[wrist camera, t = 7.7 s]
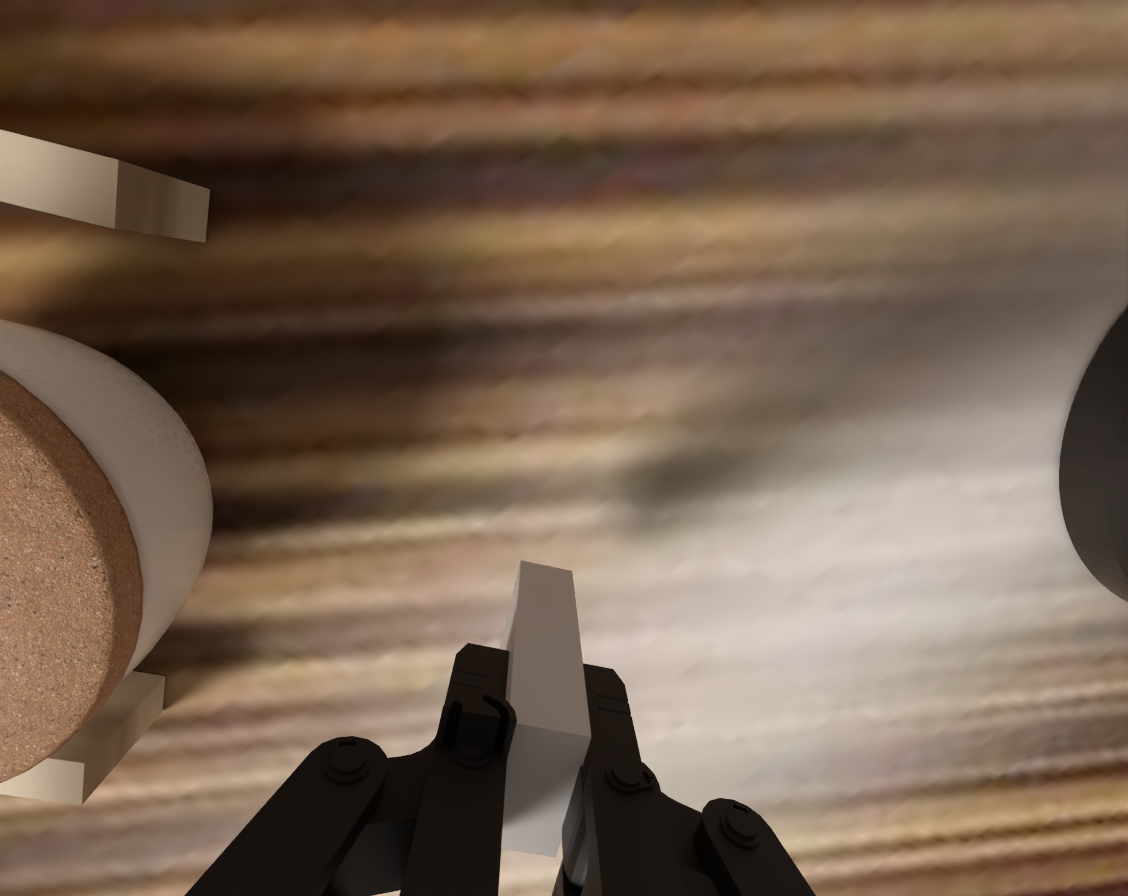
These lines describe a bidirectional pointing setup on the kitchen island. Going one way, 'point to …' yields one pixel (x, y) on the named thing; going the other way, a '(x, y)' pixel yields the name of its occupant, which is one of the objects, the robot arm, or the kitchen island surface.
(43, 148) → the birch dock
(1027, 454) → the kitchen island surface
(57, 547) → the lidded jar
